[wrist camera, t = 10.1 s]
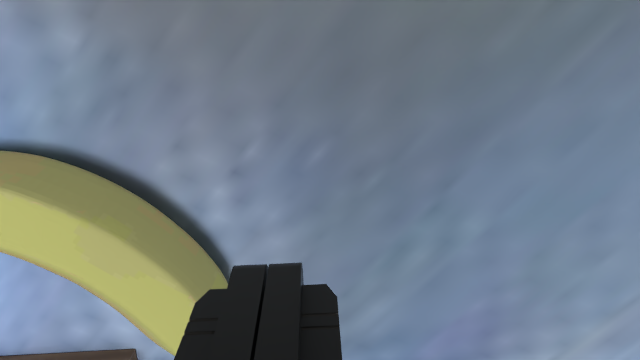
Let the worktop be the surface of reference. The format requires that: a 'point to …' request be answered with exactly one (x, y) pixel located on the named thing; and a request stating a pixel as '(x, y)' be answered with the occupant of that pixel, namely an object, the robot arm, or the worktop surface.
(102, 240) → the banana
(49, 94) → the worktop surface
